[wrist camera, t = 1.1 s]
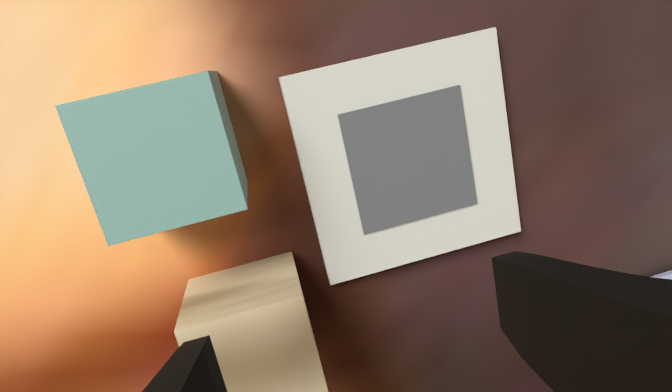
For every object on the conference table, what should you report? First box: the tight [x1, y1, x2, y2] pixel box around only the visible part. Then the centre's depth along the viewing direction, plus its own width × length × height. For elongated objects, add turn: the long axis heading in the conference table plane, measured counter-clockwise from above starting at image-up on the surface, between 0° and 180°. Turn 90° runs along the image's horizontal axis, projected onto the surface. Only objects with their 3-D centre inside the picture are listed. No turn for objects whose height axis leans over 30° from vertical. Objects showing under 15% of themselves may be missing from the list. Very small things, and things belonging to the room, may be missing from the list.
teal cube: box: [56, 71, 248, 246], centre depth 17 cm, size 4×4×4 cm
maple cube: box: [174, 251, 328, 392], centre depth 20 cm, size 4×4×4 cm
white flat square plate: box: [279, 27, 521, 285], centre depth 21 cm, size 9×9×1 cm
